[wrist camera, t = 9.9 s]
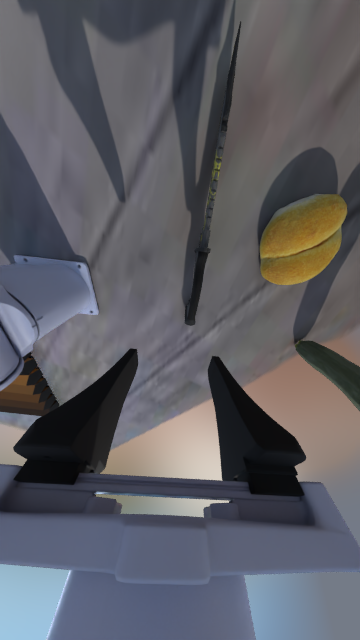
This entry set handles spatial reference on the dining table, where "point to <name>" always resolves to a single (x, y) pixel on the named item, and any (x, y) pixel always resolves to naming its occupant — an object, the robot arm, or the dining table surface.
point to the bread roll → (302, 239)
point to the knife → (211, 196)
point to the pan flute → (28, 392)
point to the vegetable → (333, 368)
